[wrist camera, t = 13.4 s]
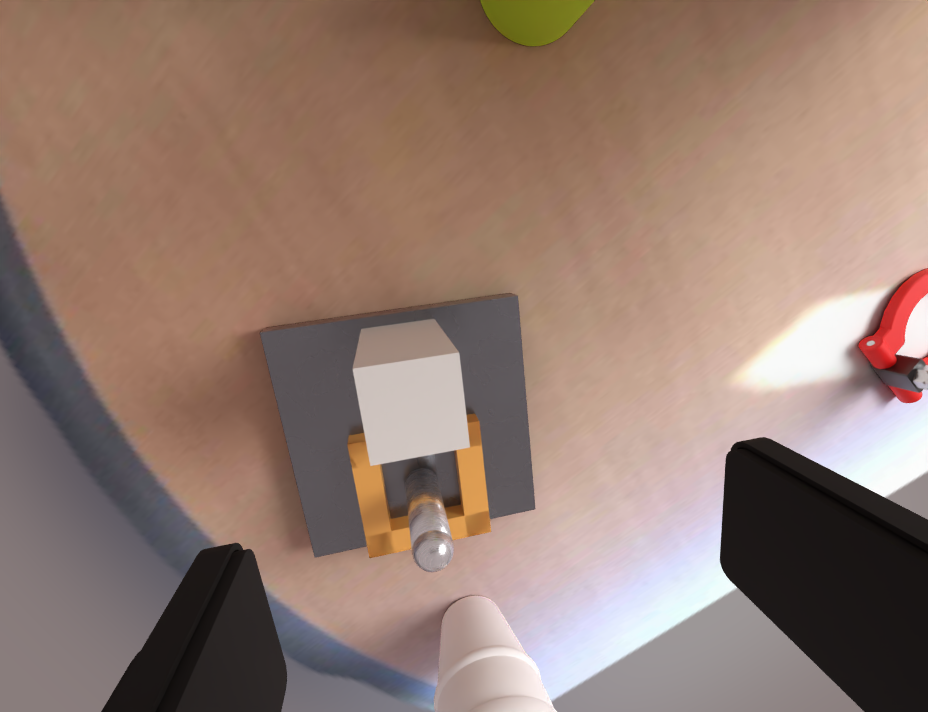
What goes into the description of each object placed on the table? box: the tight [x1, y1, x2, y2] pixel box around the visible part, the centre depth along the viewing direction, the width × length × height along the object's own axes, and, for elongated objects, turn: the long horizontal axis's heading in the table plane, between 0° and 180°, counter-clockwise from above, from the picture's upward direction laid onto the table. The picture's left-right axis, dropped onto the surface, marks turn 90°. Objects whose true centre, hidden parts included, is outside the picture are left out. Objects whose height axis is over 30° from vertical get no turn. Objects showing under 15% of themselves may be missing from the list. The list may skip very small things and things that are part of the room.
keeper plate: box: [260, 293, 535, 572], centre depth 23 cm, size 14×14×8 cm
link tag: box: [347, 319, 491, 558], centre depth 22 cm, size 13×7×8 cm, turn 6°
